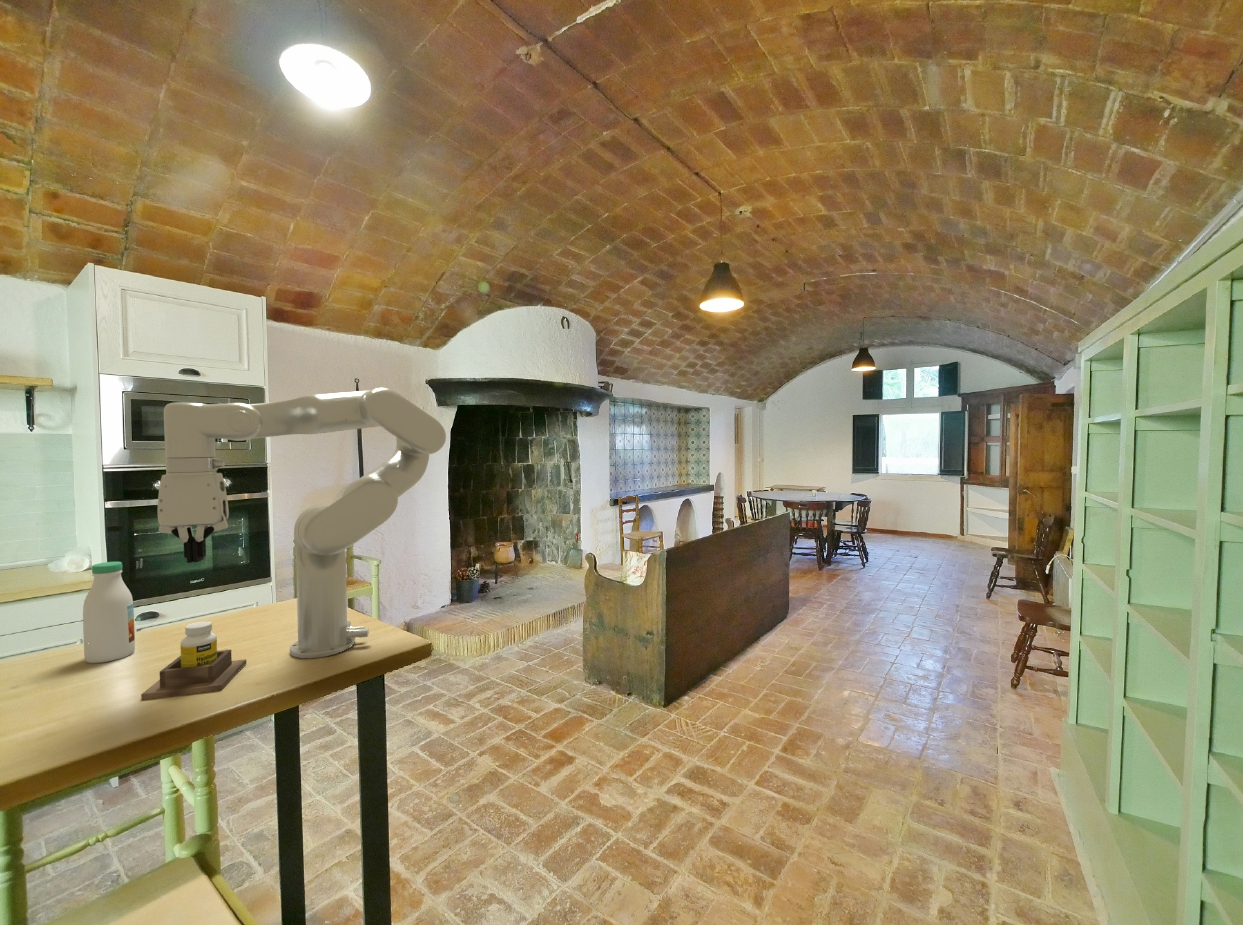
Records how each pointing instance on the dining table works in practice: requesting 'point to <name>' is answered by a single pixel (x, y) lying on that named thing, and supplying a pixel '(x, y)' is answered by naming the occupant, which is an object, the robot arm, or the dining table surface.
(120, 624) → the milk bottle
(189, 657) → the supplement bottle
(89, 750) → the dining table surface
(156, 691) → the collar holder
